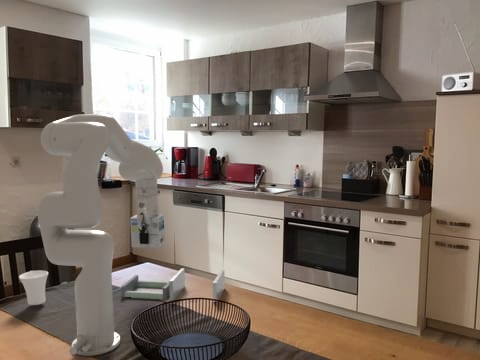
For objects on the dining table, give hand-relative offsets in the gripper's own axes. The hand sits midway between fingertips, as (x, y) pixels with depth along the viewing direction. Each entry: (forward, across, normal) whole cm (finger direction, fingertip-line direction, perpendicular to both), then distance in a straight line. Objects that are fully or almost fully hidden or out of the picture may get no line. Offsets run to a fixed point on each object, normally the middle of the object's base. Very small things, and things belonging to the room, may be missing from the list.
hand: (148, 240), depth 154 cm
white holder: (+19, 0, -18) cm, 26 cm away
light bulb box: (+2, 0, 0) cm, 2 cm away
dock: (+19, 0, 0) cm, 19 cm away
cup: (+18, -17, +34) cm, 42 cm away
